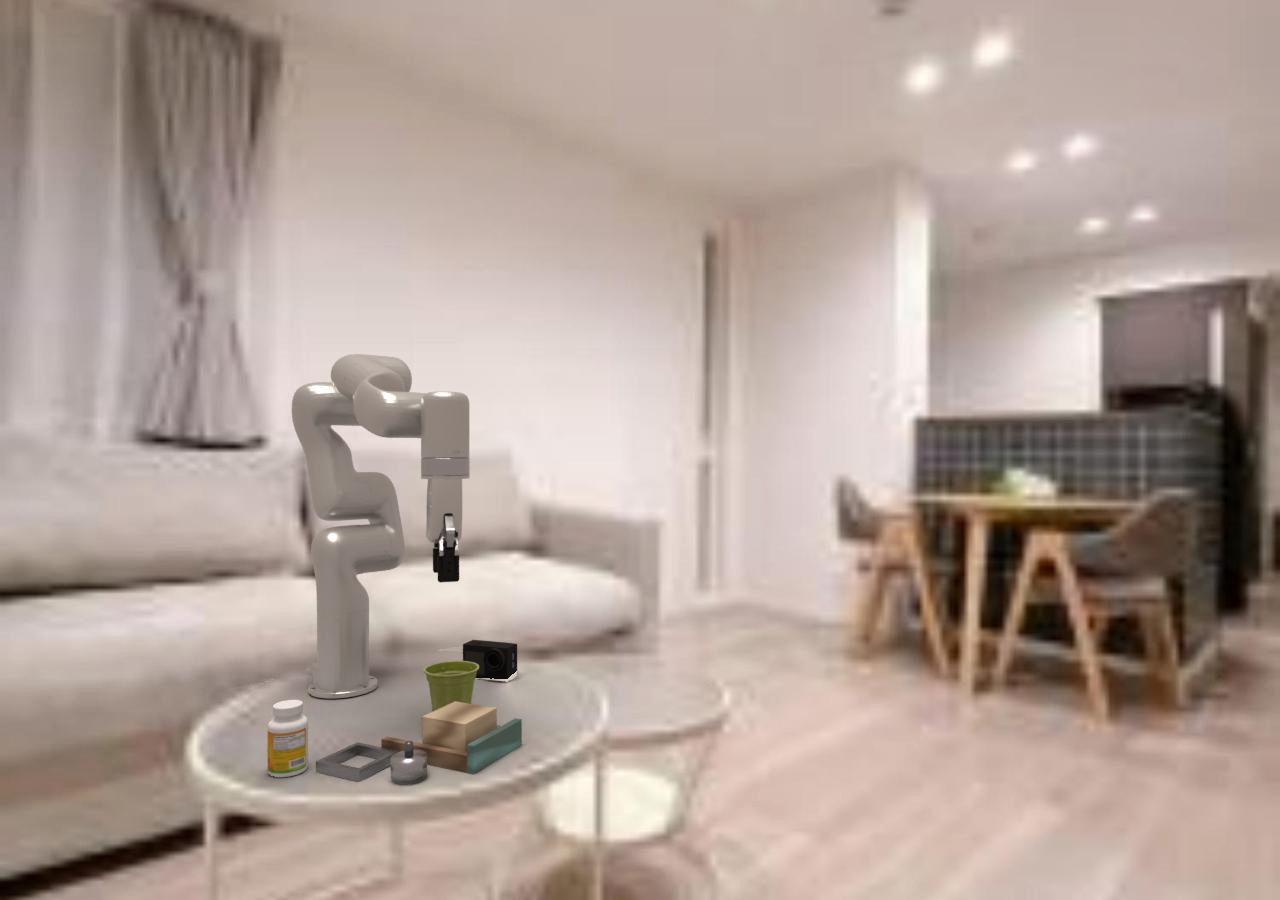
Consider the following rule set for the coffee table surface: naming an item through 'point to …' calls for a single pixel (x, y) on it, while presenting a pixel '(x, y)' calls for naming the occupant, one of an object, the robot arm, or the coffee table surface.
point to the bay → (463, 737)
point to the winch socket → (377, 763)
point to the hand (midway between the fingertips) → (445, 576)
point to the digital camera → (491, 658)
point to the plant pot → (450, 682)
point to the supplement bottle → (287, 739)
